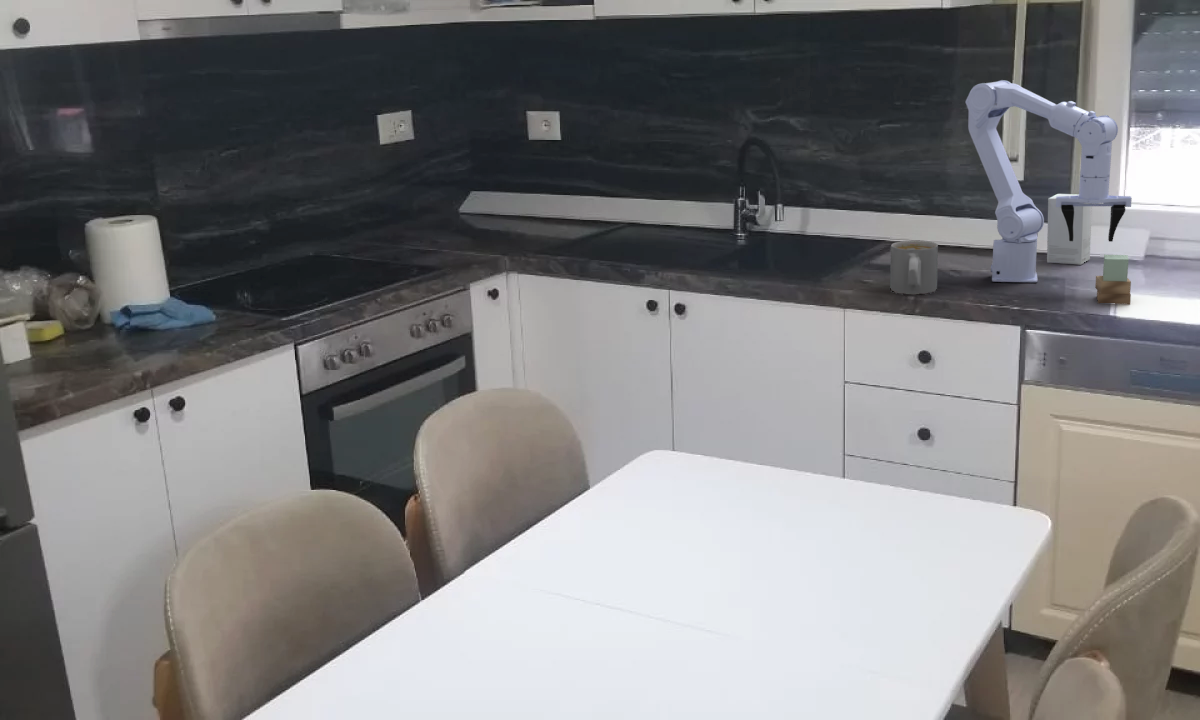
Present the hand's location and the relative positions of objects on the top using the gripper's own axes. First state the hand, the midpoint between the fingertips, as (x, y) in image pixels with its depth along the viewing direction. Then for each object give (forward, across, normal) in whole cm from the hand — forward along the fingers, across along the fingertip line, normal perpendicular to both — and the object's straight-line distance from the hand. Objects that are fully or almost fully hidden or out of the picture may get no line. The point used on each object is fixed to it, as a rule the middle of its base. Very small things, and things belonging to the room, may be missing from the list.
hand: (1090, 240), depth 248 cm
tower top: (+8, +4, -10) cm, 14 cm away
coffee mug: (+11, -36, -6) cm, 38 cm away
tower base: (+11, +4, -10) cm, 15 cm away
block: (+6, +4, -10) cm, 12 cm away
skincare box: (+11, -3, +27) cm, 29 cm away
